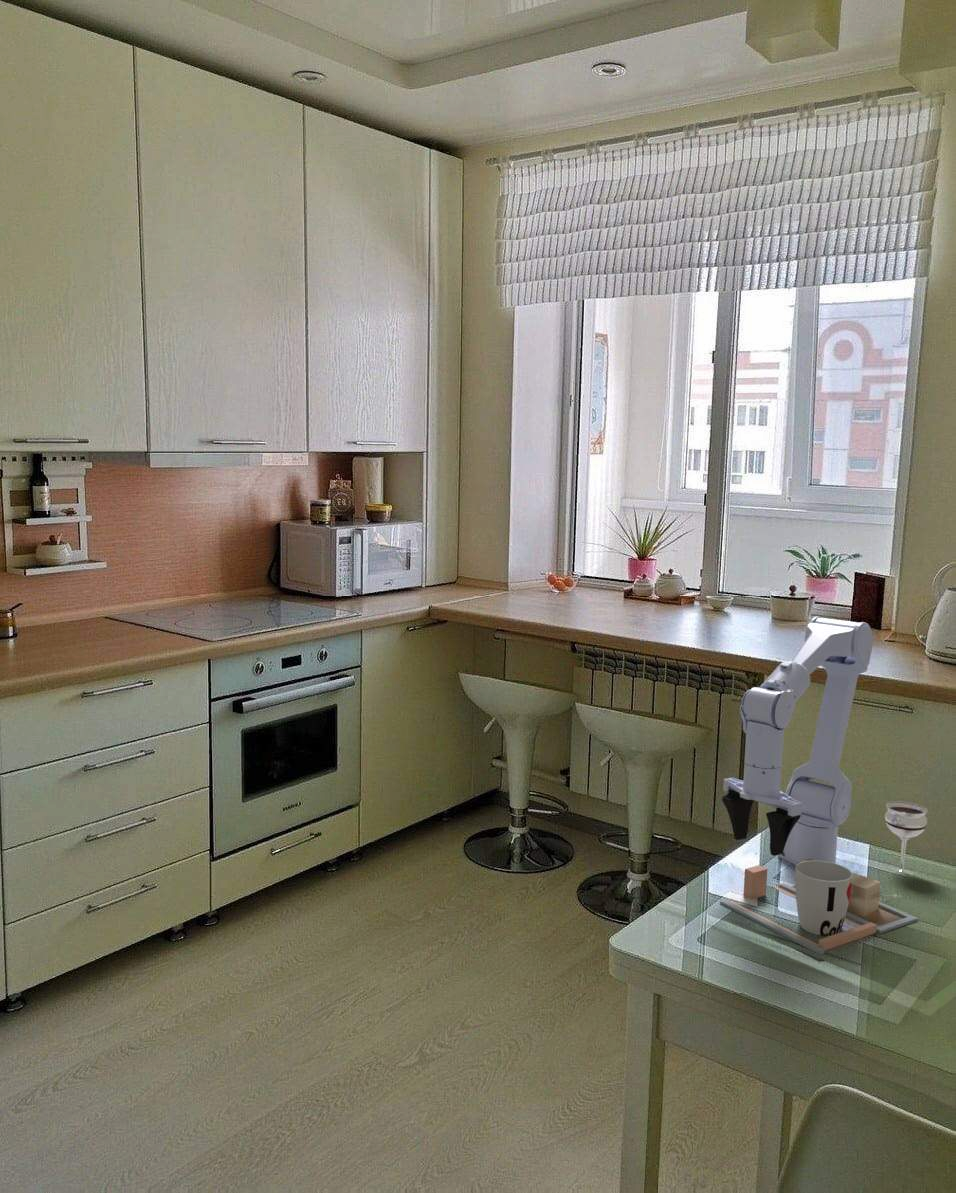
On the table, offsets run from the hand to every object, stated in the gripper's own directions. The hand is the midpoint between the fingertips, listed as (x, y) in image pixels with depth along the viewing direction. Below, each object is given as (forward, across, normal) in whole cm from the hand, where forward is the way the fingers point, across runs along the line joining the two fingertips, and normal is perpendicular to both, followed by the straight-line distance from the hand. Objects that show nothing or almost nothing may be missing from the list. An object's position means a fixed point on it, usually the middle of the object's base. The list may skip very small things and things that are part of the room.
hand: (758, 846), depth 165 cm
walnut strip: (+9, +9, +10) cm, 17 cm away
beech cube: (+8, +12, +10) cm, 18 cm away
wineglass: (+10, +4, +31) cm, 33 cm away
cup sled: (+9, +8, 0) cm, 13 cm away
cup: (+10, +13, 0) cm, 16 cm away
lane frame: (+9, +9, +4) cm, 14 cm away
